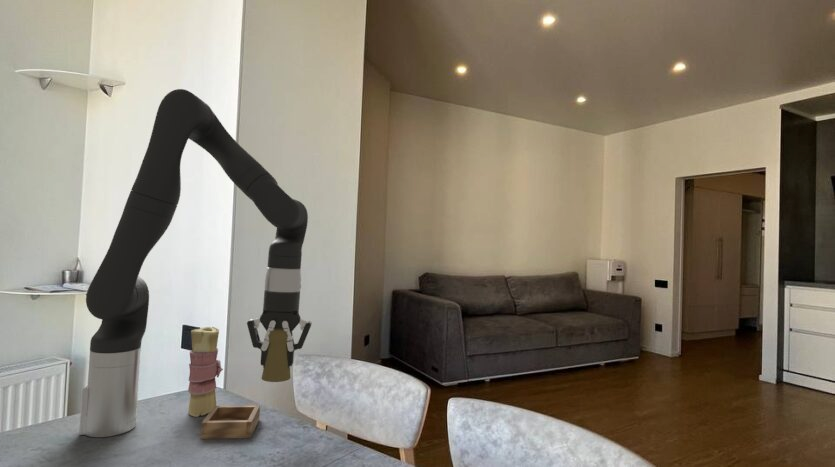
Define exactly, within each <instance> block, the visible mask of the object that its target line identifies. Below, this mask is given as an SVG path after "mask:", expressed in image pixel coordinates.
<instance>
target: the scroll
mask: <svg viewBox="0 0 835 467" xmlns="http://www.w3.org/2000/svg"><path fill="white" fill-rule="evenodd" d="M219 333H220V329H219V328H217V327H214V326H212V327H211V326H205V327H200V328H194V329H192V330H190V334H191V347H192V350H190V351H189V359H190V360H189V361H190V363H189V364H188V366H189V368H188V369H189V375H188V382H189V383H188V388H187V389H188V390H187V392H188V393H189V394H190V398H189V403H188V404H189V405H188V414H189V415H190V416H192V417H194V418H195V417H199V416H204V415H207V414H209V413H210V412H211V410H212V409H213V408H214V407H215V406H217V397H216V389H217V384H216V382H217V381H216V378H219V377H220V374H221V372H222V371H223V370H224V368H222V365H221V360H219V359H217V358H218V352H219V349H218V339H219Z"/></svg>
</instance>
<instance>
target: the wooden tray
mask: <svg viewBox="0 0 835 467" xmlns="http://www.w3.org/2000/svg"><path fill="white" fill-rule="evenodd" d="M260 410H261V405H260V404H259V405H216V406H215V407H214V408H213V409H212V410H211V412H209V413H207V414H208V415H207V414H206V417H205V418H204V419H203V420H202V422H201V429H200V430H201V431H200V439H201V440H202V439H203V440H204V439H205V440H207V439H241V438H242V439H243V438H244V439H249V438H252V437H253V436H252V435H253V433H254V432H255V429H256V427H257V425H258V423H259V421H260V415H261V411H260Z"/></svg>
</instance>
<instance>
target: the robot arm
mask: <svg viewBox="0 0 835 467" xmlns="http://www.w3.org/2000/svg"><path fill="white" fill-rule="evenodd" d="M189 140H190V141H191V142H193V143H195V144H196V145H198V146H199V147H200V148H202V149H203V150H205V151H206V152H207V153H208V154H210V156H212V158H213V159H214V160H216V162H217V163H218V165H219V166H220V167H221V169H222V171H224V173H225V174H226V176H227V177H228V178H229V179H230V180H231V181H232V183H233V184H234V185H235V186H236V187H237V188H239V190H240V191H241V192H242V193H243V194H244V195H245V196H246V197H247V198H248V199H249V200H251V201H252V202H253V203H254V206H255V207H256V208H257V209H258V211H259V212H260V213H261V215H262V216H263V217H264V218H265V219H266V220H267V222H269V223H270V224H271V225H272V226H274V227H275V228H276V231H275V237H274V240H273V241H272V242H270V245H269V248H268V255H267V269H266V274H265V280H264V294H263V304H262V305H263V308H262V314H261V315H260V316H259V317H257V318H251V319H249V320H248V321H247V322H246V325H247V329H248V332H249V337H250V340H251V345H252V347H253V348H255V349H256V348H257V349H259V350H260V351H261V353H260V365H261V366H263V369H264V367H265V363H266V358H267V353H268V351H267V350H268V345H269V336H268V335H269V334H270V331H272V330H274V329H275V328H282V329H283V330H284V331H287V332H286V333H287V335H288V338H287V347H288V352H287V361H288V369H289V366H290V367H292V366H293V364H294V360H295V358H294V357H295V351H297V350H301V349H302V348H303V346H304V344H305V341H306V339H307V336H308V334H309V331H310V329H311V327H312V322H311V321H310V320H304V319H301V315H300V312H299V311H300V302H301V301H300V298H301V290H302V284H301V282H302V274H301V268H302V267H301V266H302V256H303V255H302V254H303V252H302V251H303V249H302V248H303V246H304V245H303V244H304V242H305V237H306V233H307V228H308V222H309V220H308V218H309V215H308V210H307V208H306V206H305V205H304V204H303V203H302V202H301V201H300V200H297V199H295V198H292V197H291V196H290V195H289V194H287V192H285V190H283V189H282V188H281V187H280V186H279V183H278V182H277V180H276V178H275V177H274V176H273V175H272V174H271V173H270V172H269V171H268V170H267V169H266V168H265V167H264V166H263V165H262V164H261V163H260V162H259V161H258V160H256V159H255V158H254V156H252V155H251V154H250V153H249V152H247V150H245V148H243V147H242V146H241V145H240V144H239V143H238V142H237V141H236V140H235V139H234V138H233V137H232V135H231V134H230V133H229V132H228V131H227V129H226V128H225V126H224V125H223V123H222V122H221V121H220V119H219V118H218V116H217V115H216V114H215V112H214V111H213V110H212V108H211V106H210V105H209V104H207V103H206V102H205V101H203V100H202V99H201V98H200V97H198V96H197V95H196V94H194V93H193V92H191V91H189V90H187V89H183V88H177V89H174V90H171V91H170V92H168V93H167V94H166V95H165V96H164V97H163V98H162V100H161V101H160V103H159V105H158V108H157V111H156V114H155V118H154V123H153V126H152V131H151V134H150V139H149V143H148V145H147V149H146V150H145V153H144V157H143V159H142V161H141V164H140V167H139V170H138V173H137V175H136V178H135V180H134V182H133V185H132V187H131V189H130V192H129V194H128V197H127V199H126V202H125V205H124V208H123V210H122V213H121V217H120V219H119V220H118V221H119V222H118V224H117V227H116V228H115V231H114V234H113V236H112V240H111V242H110V245H109V248H108V250H107V251H106V254H105V255H104V257H103V258H102V259H103V260H102V262H101V263H100V265H99V267H98V269H97V271H96V273H95V275H94V277H93V278H92V280H91V282H90V284H89V286H88V288H87V291H86V295H85V297H86V298H85V303H86V307H87V309H88V311H89V313H90V315H92V316H93V317H94V318H95V319H99V320H101V324H100V326H99V327H98V330H96V332H95V333H94V334H93V335H92V337H91V339H90V341H89V343H90V345H89V356H88V357H89V360H88V370H87V372H88V373H87V386H84V387H82V391H81V405H80V417H79V418H80V419H79V432H78V435H81V436H84V435H85V436H87V437H90V438H107V437H115V436H118V435H121V434H124V433H127V432H129V431H131V430H133V429H134V428H135V427H136V426H137V418H138V417H137V416H138V415H137V409H138V399H139V398H138V397H139V396H138V395H139V385H140V384H139V382H140V371H141V370H140V368H141V366H140V365H141V354H142V353H141V352H142V341H143V338H144V335H145V333H146V330H147V323H148V315H149V314H148V313H149V307H150V306H149V305H150V291H149V287H148V285H147V282H146V281H145V280H144V279H143V278H142V277H140V276H139V275H140V272H141V269H142V267H143V264H144V262H145V260H146V258H147V256H149V253H150V252H151V251H152V250H153V249H154V247H155V246H156V244H157V243H158V242H159V241H160V239H162V236H163V235H164V234H165V233H166V231H167V230H168V229H169V227H170V225H171V223H172V220H173V218H174V216H175V214H176V210H177V207H178V204H179V202H180V197H181V190H182V183H181V182H182V179H181V178H182V177H181V175H182V174H181V162H182V156H183V153H184V151H185V148H186V145H187V144H188V143H187V142H188V141H189ZM260 323H261V325H262V326H263V328H264V329H265V331H266V333H265V336H264V338H263V341H262V340H261V338H260V335H259V331H258V329H259V328H260ZM298 325H299V329H300V331H301V334H300V336H299V340H298V341H297V342H295V340H294V333H293V331H294V330H295V329H296V327H297V326H298ZM291 333H292V336H291Z"/></svg>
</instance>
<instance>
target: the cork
mask: <svg viewBox="0 0 835 467" xmlns="http://www.w3.org/2000/svg"><path fill="white" fill-rule="evenodd" d="M286 332H287V331H284V330H283V329H282V328H275V329H274V330H272V331H270V334H269V335H268V336H269V345H268V350H267V351H268V353H267V358H266V363H265V367H264V368H263V370H262V375H261V377H260V378H261V380H262V381H264V382H268V383H269V382H270V383H281V382H286V381H288V380H290V379H291V366H289V369H288V361H287V352H288V347H287V338H288V335H287V333H286ZM292 333H293V332H292ZM292 333H291V336H292Z"/></svg>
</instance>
